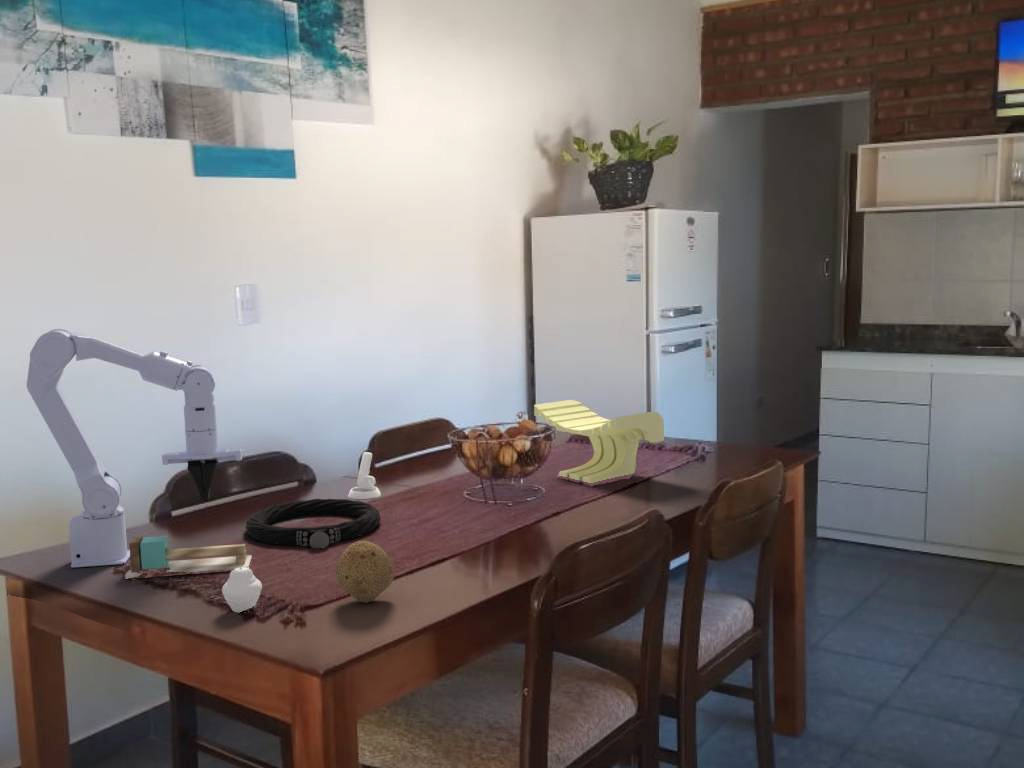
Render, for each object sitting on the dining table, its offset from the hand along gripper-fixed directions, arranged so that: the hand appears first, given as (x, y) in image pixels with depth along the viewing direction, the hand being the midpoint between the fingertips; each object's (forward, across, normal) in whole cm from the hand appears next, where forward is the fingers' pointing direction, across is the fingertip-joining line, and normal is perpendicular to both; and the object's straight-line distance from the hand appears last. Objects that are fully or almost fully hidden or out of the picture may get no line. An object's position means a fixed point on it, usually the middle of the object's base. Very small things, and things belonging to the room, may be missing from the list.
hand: (205, 498), depth 187 cm
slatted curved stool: (+10, +89, +40) cm, 98 cm away
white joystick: (+10, +31, +37) cm, 49 cm away
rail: (+10, -2, -13) cm, 16 cm away
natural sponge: (+10, +29, -38) cm, 49 cm away
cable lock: (+10, +20, +9) cm, 24 cm away
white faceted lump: (+10, +10, -37) cm, 40 cm away
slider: (+9, -7, -13) cm, 17 cm away
